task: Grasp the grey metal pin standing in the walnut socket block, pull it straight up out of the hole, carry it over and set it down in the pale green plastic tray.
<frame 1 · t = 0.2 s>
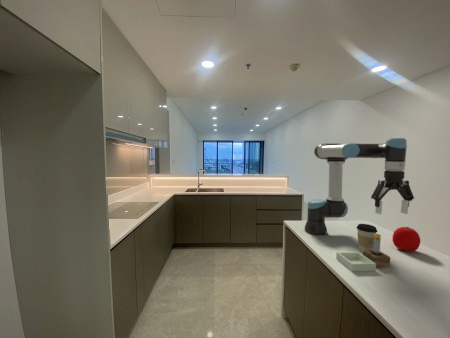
hand: (391, 213, 98), 27 cm above the worktop, fingers open, 13 cm apart
pin: (376, 248, 102), in the socket block
socket block: (375, 262, 103), on the worktop
tomato: (405, 250, 118), on the worktop
tray: (354, 264, 101), on the worktop
coffee cup: (365, 251, 116), on the worktop
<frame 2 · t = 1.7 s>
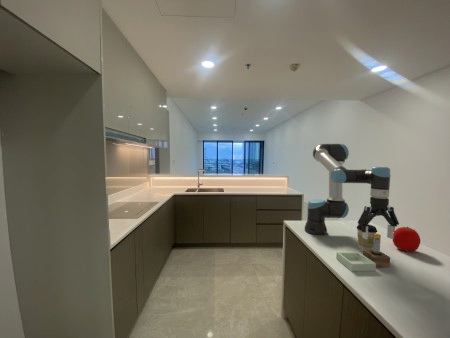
hand: (377, 238, 102), 13 cm above the worktop, fingers open, 13 cm apart
nothing on the worktop moved.
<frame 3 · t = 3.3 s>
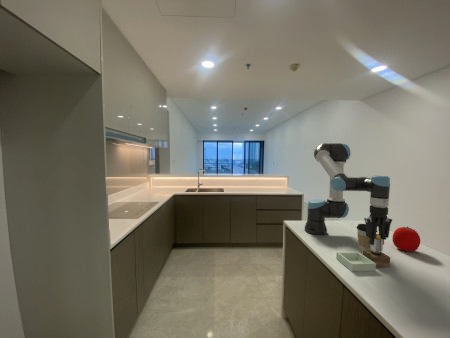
hand: (376, 250, 103), 7 cm above the worktop, fingers closed on pin, 3 cm apart
pin: (376, 248, 102), in the socket block, touching gripper
everything else where it was.
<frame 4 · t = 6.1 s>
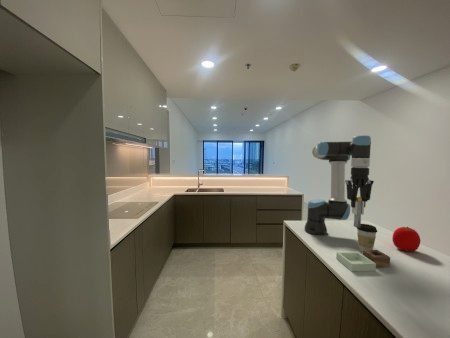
hand: (357, 213, 100), 26 cm above the worktop, fingers closed on pin, 3 cm apart
pin: (357, 211, 99), point 27 cm above the worktop, touching gripper
everything else where it was.
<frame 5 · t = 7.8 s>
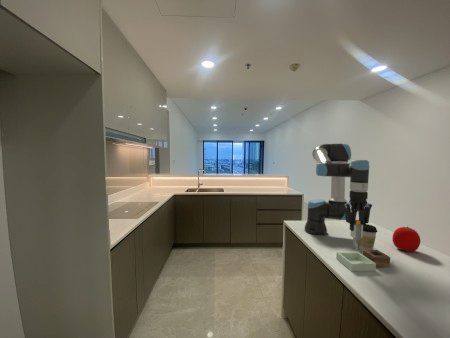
hand: (356, 236, 100), 15 cm above the worktop, fingers closed on pin, 3 cm apart
pin: (356, 234, 100), point 16 cm above the worktop, touching gripper
everything else where it was.
when the fingers open (8 cm above the worktop, at t = 9.1 s): pin stays where it is, resting on tray.
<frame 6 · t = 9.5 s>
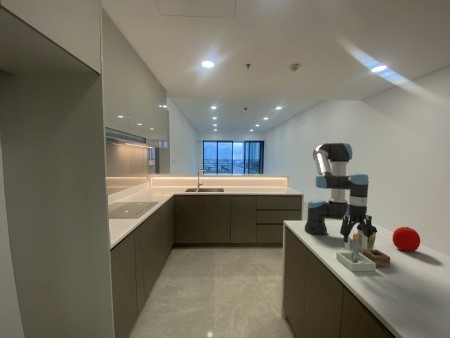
hand: (355, 248, 101), 8 cm above the worktop, fingers open, 8 cm apart
pin: (355, 248, 101), in the tray, point 8 cm above the worktop
everything else where it was.
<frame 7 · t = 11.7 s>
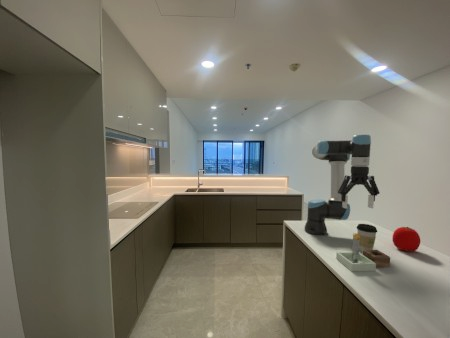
hand: (357, 207, 101), 29 cm above the worktop, fingers open, 13 cm apart
nothing on the worktop moved.
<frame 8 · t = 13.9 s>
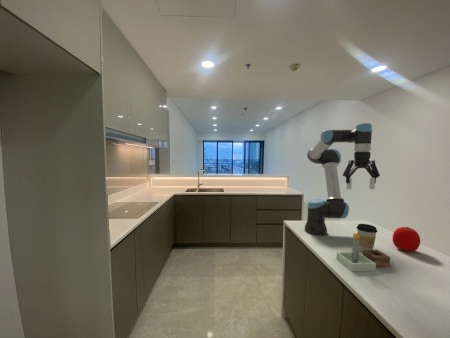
hand: (360, 189, 113), 37 cm above the worktop, fingers open, 13 cm apart
nothing on the worktop moved.
at the end: pin inside the target area on the tray (0.0 cm from its centre), point 8.1 cm above the tray's base; the gripper is holding nothing; pin touching tray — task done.
